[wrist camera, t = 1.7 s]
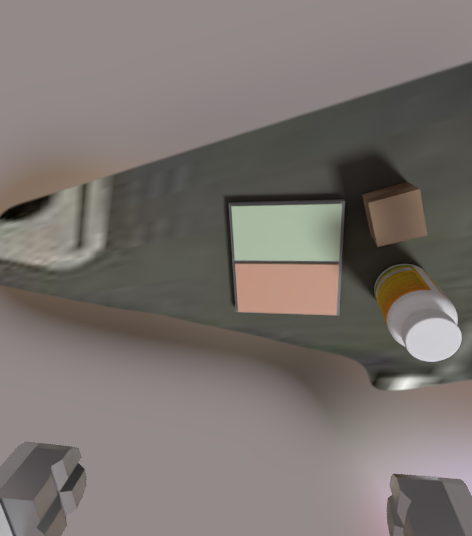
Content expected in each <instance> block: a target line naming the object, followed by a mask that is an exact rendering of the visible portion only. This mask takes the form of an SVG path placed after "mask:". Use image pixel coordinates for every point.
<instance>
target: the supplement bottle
mask: <svg viewBox="0 0 472 536" xmlns="http://www.w3.org/2000/svg"><path fill="white" fill-rule="evenodd" d="M374 293H375V297H376V300H377V302H378V305H379V307H380V310H381V312H382V315H383V317H384V319H385V322H386V324H387V327H388V329H389V331H390V333H391V335H392V336H393V338H394V339H395V340H396V341H397V342H399V343H400V344H401V345H403V346H405V347H406V348H407V350H408V351H409V353H410V354H411V355H412V356H414V357H415V358H417V359H420V360H423V361H430V362H434V361H440V360H443V359H446V358H448V357H450V356H451V355H453V354H454V353H455V352H456V351H457V350H458V348H459V346H460V344H461V339H462V336H461V332H460V329H459V328H458V326H457V322H458V317H457V312H456V310H455V308H454V306H453V304H452V303H451V302H450V300H449V299H448V298H447V297H446V295H445V294H444V293H443V292H442V291H441V289H440V288H439V287H438V286H437V284H436V283H435V282H434V281H433V279H432V278H431V277H430V276H429V275H428V273H427V272H425V271H424V270H423V269H422V268H420V267H418V266H416V265H412V264H398V265H394V266H391V267H389V268H388V269H386V270H385V271H383V272H382V273H381V274H380V276H379V277H378V279H377V280H376V283H375V287H374Z"/></svg>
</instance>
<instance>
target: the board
mask: <svg viewBox="0 0 472 536" xmlns="http://www.w3.org/2000/svg"><path fill="white" fill-rule="evenodd" d="M344 213H345V200H303V201H261V202H230V203H229V215H230V230H231V245H232V261H233V276H234V291H235V306H236V312H249V313H279V314H308V315H338V316H339V310H340V291H341V271H342V252H343V233H344Z"/></svg>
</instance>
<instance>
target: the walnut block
mask: <svg viewBox="0 0 472 536" xmlns="http://www.w3.org/2000/svg"><path fill="white" fill-rule="evenodd" d="M362 198H363V203H364V208H365V212H366V217H367V222H368V227H369V231H370V235H371V237H372V238H373V240H374V242H375V243H376V245H377V247H380V246H384V245H388V244H392V243H397V242H401V241H405V240H409V239H414V238H418V237H422V236H426V235H427V230H426V224H425V218H424V212H423V206H422V200H421V193H420V189H419V188H417V187H415V186H414V185H412V184H410V183H408V182H405V183H401V184H398V185H394V186H391V187H387V188H383V189H380V190H376V191H373V192H369V193H365V194H362Z"/></svg>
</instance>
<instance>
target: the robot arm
mask: <svg viewBox="0 0 472 536" xmlns="http://www.w3.org/2000/svg"><path fill="white" fill-rule="evenodd" d="M80 459H81V454H80V451H79V448H76V447H70V446H61V445H53V444H44V443H34V442H24V443H22V444H21V445H19V446H18V447H17V448H16V449H15V451H14V452H13V453H12V454H11V455H10V456H9V457H8V458H7V460H6V461H5V462H4V463H3V464H2V466H0V536H61V535H62V533H63V531H64V530H65V528H66V526H67V522H66V516H67V515H68V514H70V513H71V512H73V511H74V510H75V509H76V508H77V507H78V505H79V503H80V501H81V499H82V497H83V494H84V491H85V487H86V473H85V469H84V468H83V467H82V466H81V465H80V464H79V463H78V462H79V460H80ZM390 488H391V492H392V496H390V497H389V498H388V502H387V523H388V528H389V534H390V536H472V496H471V494H470V492H469V490H468V488H467V486H466V484H465V483H464V482H463V481H462V480H460V479H450V478H436V477H430V476H416V475H403V474H393V475H392V476H391V480H390Z"/></svg>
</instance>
